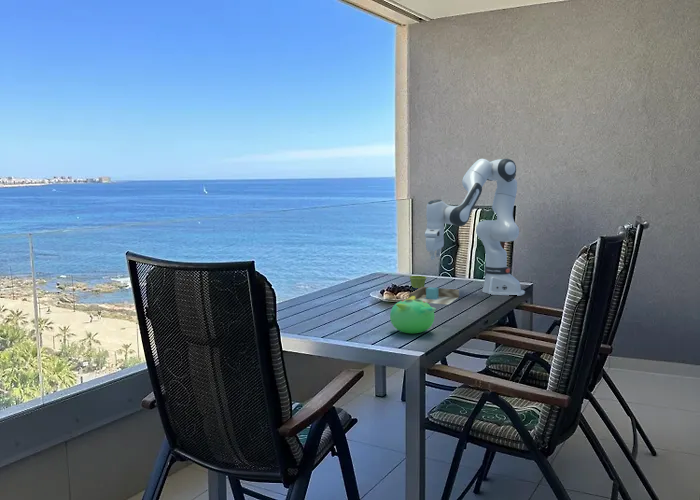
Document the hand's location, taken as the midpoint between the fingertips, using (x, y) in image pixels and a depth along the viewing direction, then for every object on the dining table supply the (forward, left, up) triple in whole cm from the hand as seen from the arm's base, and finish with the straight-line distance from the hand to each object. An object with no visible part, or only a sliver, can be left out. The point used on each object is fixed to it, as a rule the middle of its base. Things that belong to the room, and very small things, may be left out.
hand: (435, 258), depth 329 cm
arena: (-2, +8, -21) cm, 23 cm away
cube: (0, +6, -20) cm, 21 cm away
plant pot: (+13, -10, -21) cm, 27 cm away
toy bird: (-13, +74, -21) cm, 78 cm away
